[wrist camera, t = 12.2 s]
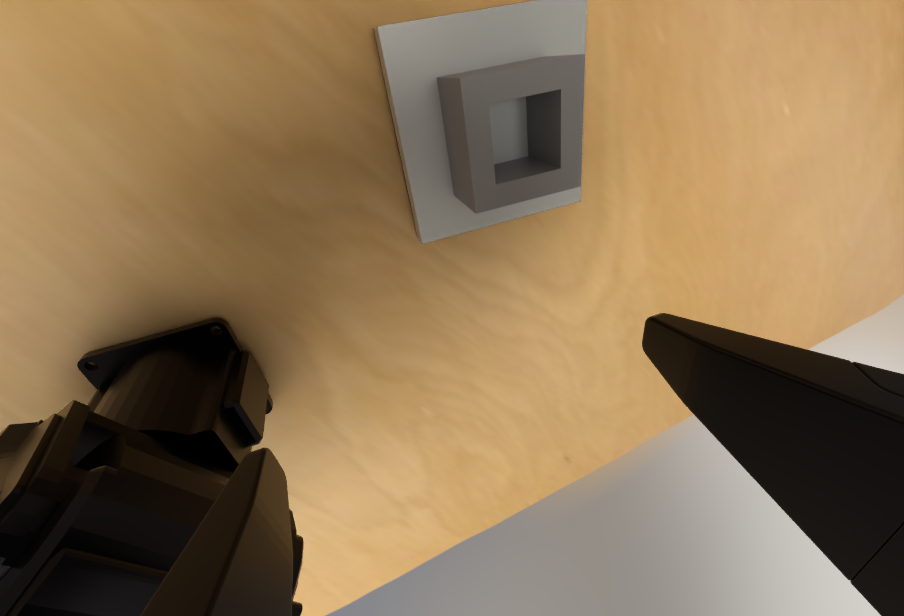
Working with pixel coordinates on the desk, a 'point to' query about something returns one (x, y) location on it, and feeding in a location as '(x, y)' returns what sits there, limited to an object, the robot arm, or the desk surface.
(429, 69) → the narrow socket
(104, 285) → the desk surface
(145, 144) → the desk surface
